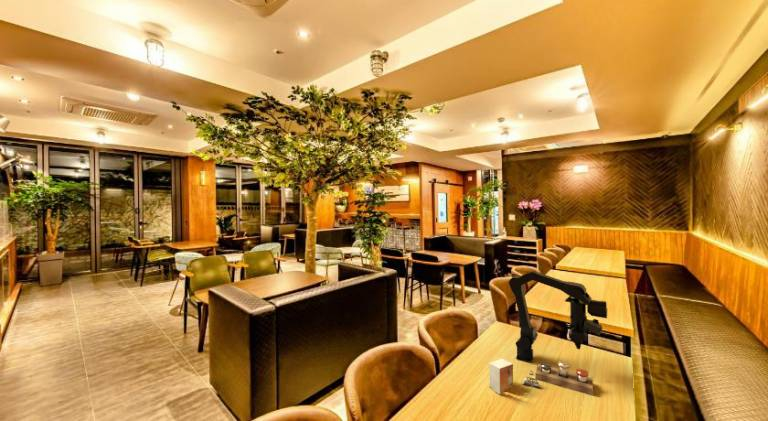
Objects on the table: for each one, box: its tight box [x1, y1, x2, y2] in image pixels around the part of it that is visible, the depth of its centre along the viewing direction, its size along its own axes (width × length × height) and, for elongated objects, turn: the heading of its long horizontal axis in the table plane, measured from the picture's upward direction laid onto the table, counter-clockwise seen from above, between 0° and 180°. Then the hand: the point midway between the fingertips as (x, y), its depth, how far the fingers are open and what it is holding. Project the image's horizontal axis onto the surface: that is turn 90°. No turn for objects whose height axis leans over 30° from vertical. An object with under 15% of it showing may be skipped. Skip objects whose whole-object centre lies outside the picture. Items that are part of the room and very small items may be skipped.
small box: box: [488, 358, 514, 395], centre depth 122 cm, size 8×6×10 cm
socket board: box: [534, 363, 594, 396], centre depth 124 cm, size 20×9×4 cm, turn 55°
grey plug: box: [540, 362, 552, 374], centre depth 128 cm, size 4×4×6 cm
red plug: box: [575, 368, 589, 384], centre depth 120 cm, size 4×4×6 cm
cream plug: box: [557, 360, 570, 379], centre depth 124 cm, size 4×4×6 cm
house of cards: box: [521, 369, 541, 389], centre depth 124 cm, size 9×9×8 cm
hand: (578, 348), depth 129 cm, fingers closed
